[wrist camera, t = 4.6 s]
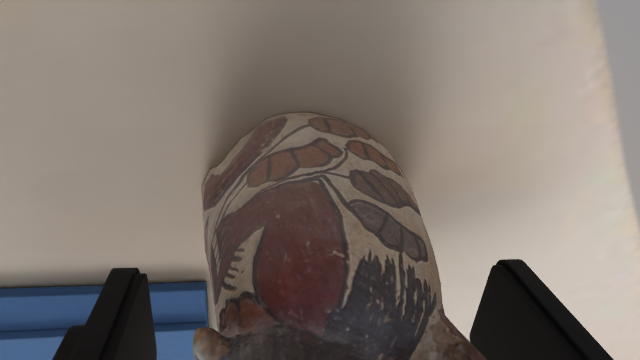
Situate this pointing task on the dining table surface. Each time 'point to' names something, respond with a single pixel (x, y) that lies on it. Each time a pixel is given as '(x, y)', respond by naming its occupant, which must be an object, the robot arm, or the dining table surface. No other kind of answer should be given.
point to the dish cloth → (75, 307)
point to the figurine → (319, 251)
